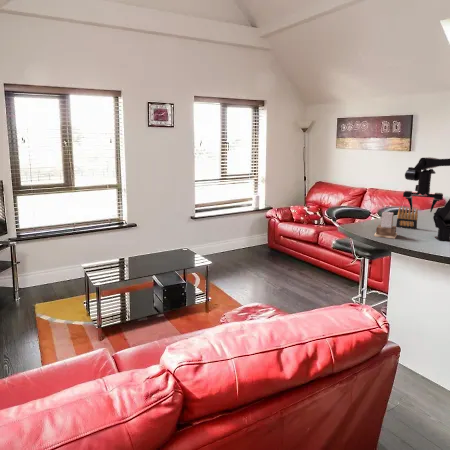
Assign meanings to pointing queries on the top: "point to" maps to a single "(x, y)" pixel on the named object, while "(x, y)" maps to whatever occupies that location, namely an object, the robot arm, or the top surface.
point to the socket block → (386, 232)
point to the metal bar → (387, 220)
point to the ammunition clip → (407, 218)
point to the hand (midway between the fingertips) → (421, 211)
